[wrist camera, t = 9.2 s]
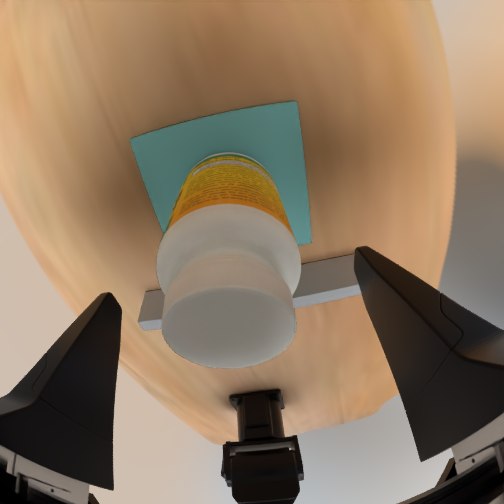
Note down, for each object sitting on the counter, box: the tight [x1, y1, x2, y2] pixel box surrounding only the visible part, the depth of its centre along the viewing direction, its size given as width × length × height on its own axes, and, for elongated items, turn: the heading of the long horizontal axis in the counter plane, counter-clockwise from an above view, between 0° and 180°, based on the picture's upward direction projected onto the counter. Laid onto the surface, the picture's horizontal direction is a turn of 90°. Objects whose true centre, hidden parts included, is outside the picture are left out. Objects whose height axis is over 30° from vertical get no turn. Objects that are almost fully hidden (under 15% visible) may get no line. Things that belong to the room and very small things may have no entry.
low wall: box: [138, 254, 361, 331], centre depth 19 cm, size 1×16×3 cm, turn 100°
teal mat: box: [130, 101, 312, 246], centre depth 16 cm, size 9×9×1 cm
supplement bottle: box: [156, 152, 301, 369], centre depth 12 cm, size 5×5×10 cm
